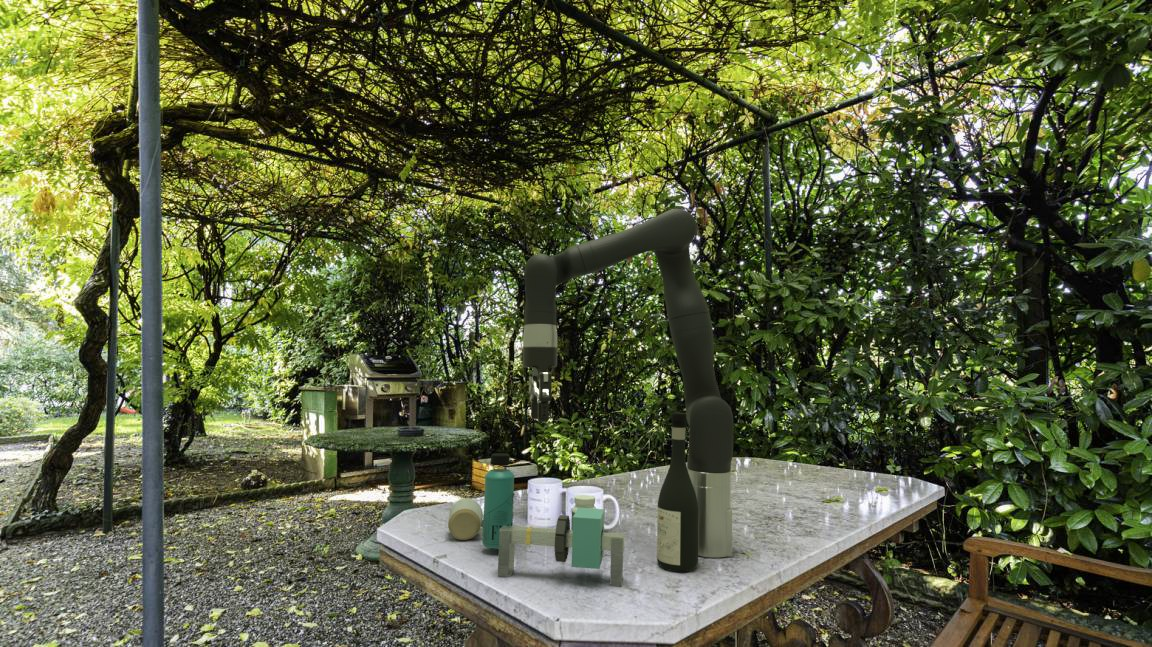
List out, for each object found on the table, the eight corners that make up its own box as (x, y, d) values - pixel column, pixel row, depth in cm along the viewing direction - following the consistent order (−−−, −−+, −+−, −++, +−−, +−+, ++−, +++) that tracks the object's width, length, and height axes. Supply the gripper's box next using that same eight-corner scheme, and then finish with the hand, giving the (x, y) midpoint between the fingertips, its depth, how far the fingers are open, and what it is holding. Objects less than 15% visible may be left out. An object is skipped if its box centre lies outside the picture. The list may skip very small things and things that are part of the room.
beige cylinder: (446, 542, 122) (448, 506, 123) (448, 531, 130) (450, 497, 131) (495, 542, 124) (497, 506, 124) (494, 531, 132) (496, 498, 132)
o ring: (569, 553, 107) (570, 512, 107) (562, 566, 99) (564, 522, 100) (561, 552, 107) (562, 511, 108) (554, 566, 99) (555, 522, 100)
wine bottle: (671, 575, 105) (672, 414, 108) (649, 562, 113) (651, 411, 115) (706, 570, 109) (707, 414, 111) (682, 557, 116) (684, 411, 118)
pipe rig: (623, 578, 103) (624, 532, 104) (622, 586, 99) (623, 538, 100) (502, 568, 106) (504, 523, 107) (496, 576, 102) (498, 529, 103)
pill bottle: (594, 547, 121) (595, 500, 122) (568, 545, 122) (569, 498, 123) (598, 540, 126) (599, 495, 127) (573, 538, 128) (574, 493, 129)
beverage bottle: (487, 557, 112) (491, 456, 114) (476, 548, 118) (480, 452, 120) (517, 553, 115) (520, 455, 117) (506, 544, 121) (509, 450, 123)
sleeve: (603, 556, 106) (604, 509, 106) (599, 569, 98) (600, 518, 99) (577, 554, 106) (578, 507, 107) (571, 567, 99) (572, 517, 100)
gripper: (564, 344, 117) (563, 422, 116) (550, 347, 131) (549, 417, 130) (528, 343, 116) (527, 423, 114) (518, 347, 129) (517, 418, 128)
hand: (539, 420), depth 122 cm, fingers open, 8 cm apart
